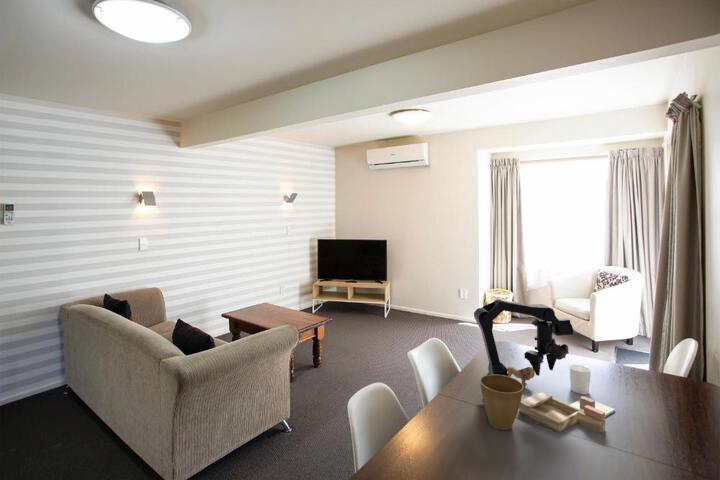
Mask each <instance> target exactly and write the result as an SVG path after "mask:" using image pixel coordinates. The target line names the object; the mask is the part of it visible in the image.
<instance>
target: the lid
mask: <svg viewBox="0 0 720 480" xmlns="http://www.w3.org/2000/svg"><path fill="white" fill-rule="evenodd" d="M569 405H570V406H572V407H575V408H577V409H579V410H584V406H586V405H588V406H591V407H593V408H596V409H598V410H601V411H603V412H605V418H606V417H608V416H610V415H611V414H613V413H615V412H616V409H615V408H613V407H610V406H609V405H606V404H603V403H600V402H597V401H596V400H594V399H592V398H590V397H588V396H585V395H582V396H580V397H579V400H578V399H577V400H576V401H574V402H572V403H570V404H569Z"/></svg>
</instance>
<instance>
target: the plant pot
mask: <svg viewBox="0 0 720 480" xmlns="http://www.w3.org/2000/svg"><path fill="white" fill-rule="evenodd" d="M479 384H480V390H481V391H480V392H481V395H482V399H483V400H482V401H483V405H484V408H485V409H484V410H485V413H486V415H487V418H488V422H489V423H490V426H492V427H493V428H495V429H496V428H497V430H499V429H500V431H508V429H509V430H511V428H512V427H513V424H514V423H515V420H516V419H517V415H518V412H519V406H520V403H521V401H522V398H523V393H524V387H523V385H522V381H520V380H518V379H516V378H513V377H512V376H511V377H508V376H504V375H487V374H486V375H484V376H481V378H480V379H479Z"/></svg>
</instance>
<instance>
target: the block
mask: <svg viewBox="0 0 720 480" xmlns="http://www.w3.org/2000/svg"><path fill="white" fill-rule="evenodd" d="M584 413H585V414H587V415H590V416H592V417H594V418H596V419H599V420H601V421H602V420H604V419H605V420H606V417H605V412H603V411H601V410H598V409H596V408H593V407H591V406H588V405H586V406H584Z"/></svg>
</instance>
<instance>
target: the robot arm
mask: <svg viewBox="0 0 720 480" xmlns="http://www.w3.org/2000/svg"><path fill="white" fill-rule="evenodd" d="M502 312H509V313H515V314H521V315H527V316H531V317H533V318H535V319H534V320H533V321H531V325H533V326H535V327H536V336H535V337H534V341H536V346H534V350H532V349H531V350H528V351H525V352H524V359H525V360H527V361H528V362H529V364H530V365H531V367H532V368H533V369H534V372H535V376H540V373H541V365H542V364H543V363H544V356H545V358H546V361H547V367H548V368H549V370H550V371H554V368H555V364H556V362H557V360H559V361H560V360H562V359H566V356H567V355H568V354H569V345H568V344H566V343H564V344H558V343H556V339H555V338H553V334H554V336H556V337H564V336H565V337H569V336H570V337H571V336H573V334H574V328H573V324H572V323H571V319H568V318H560V319H559V318H558V317H557V316H556V313H555V310H554V309H553V308H551V307H550V306H547V305H545V304H542V303H540V304H539V303H537V304H534V303H533V304H525V303H519V302H514V301H508V300H502V299H501V298H500V299H499V298H498V299H495V300H494V301H492V302H490V303H487V304H484V305H483V306H482V307H479V308H477V309H475V311H474V312H473V317H474V319H475V321H476V324H477V326H478V327H479V329H480V331H481V335H482V340H483V343H484V348H485V350H486V354H487V355H486V356H487V358H488V369H487V370H488V373H487V374H486V375H504V376H508V372H507V368H508V367H506V366H505V364H503V362H501V361H500V358H499V353H498V349H497V345H496V341H495V337H494V333H493V329H494V320H495V319H497V318H498V316H499V315H500V314H501V313H502ZM508 377H509V376H508ZM482 401H483V398H482Z"/></svg>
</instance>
